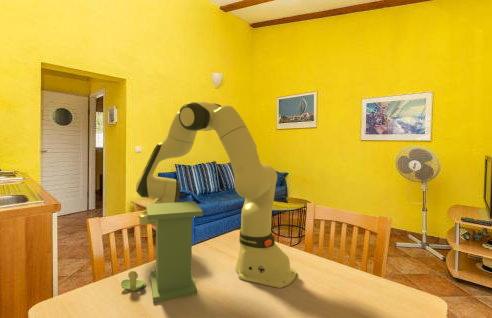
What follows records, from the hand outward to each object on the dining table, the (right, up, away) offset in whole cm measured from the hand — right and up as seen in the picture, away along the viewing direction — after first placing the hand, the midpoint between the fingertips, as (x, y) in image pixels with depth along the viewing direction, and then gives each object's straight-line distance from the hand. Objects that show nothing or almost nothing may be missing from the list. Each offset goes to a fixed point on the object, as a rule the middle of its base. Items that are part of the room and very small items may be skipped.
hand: (168, 222), depth 104 cm
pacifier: (-6, -18, -15) cm, 24 cm away
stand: (+6, -17, -14) cm, 23 cm away
